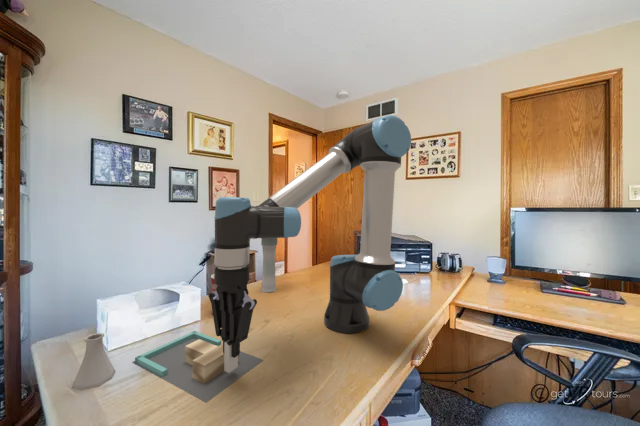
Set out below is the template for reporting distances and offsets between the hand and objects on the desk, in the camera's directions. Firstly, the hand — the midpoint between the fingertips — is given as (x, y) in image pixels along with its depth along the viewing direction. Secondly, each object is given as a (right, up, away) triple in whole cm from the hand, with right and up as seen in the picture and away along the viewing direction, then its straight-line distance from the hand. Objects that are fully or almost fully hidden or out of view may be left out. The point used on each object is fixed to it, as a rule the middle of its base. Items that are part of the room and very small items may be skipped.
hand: (231, 368), depth 61 cm
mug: (-16, -1, +40) cm, 43 cm away
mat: (-10, -2, +6) cm, 11 cm away
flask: (-29, -2, -2) cm, 30 cm away
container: (-3, -1, +64) cm, 64 cm away
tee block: (-7, -1, +4) cm, 8 cm away
